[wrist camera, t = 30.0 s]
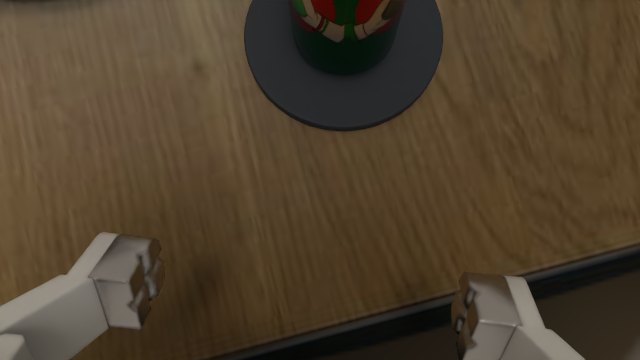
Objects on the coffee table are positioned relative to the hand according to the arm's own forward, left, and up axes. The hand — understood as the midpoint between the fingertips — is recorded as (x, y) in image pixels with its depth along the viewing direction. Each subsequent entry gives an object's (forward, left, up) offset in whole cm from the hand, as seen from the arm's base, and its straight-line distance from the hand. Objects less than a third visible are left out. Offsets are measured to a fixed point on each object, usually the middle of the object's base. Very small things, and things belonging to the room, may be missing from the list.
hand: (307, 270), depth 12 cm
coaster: (-2, -11, -9) cm, 15 cm away
